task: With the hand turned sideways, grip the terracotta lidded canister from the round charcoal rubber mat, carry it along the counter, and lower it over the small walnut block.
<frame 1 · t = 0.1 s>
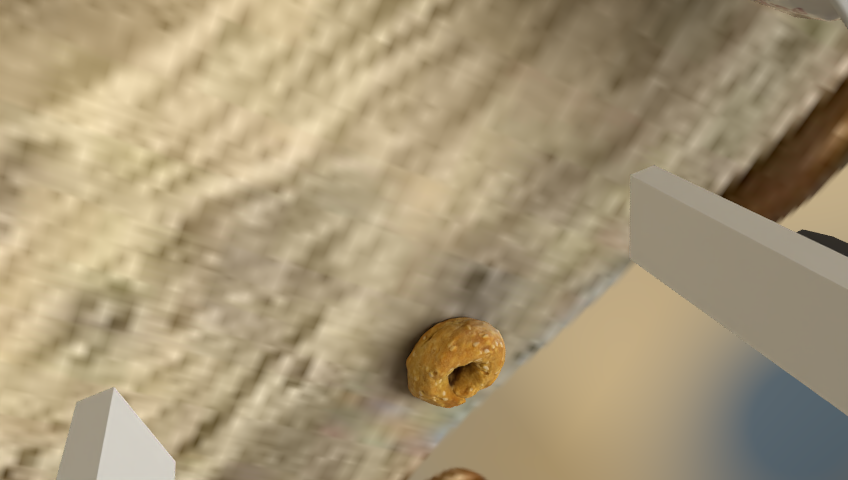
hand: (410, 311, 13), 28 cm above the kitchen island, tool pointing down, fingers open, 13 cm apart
bagel: (447, 350, 54), on the kitchen island
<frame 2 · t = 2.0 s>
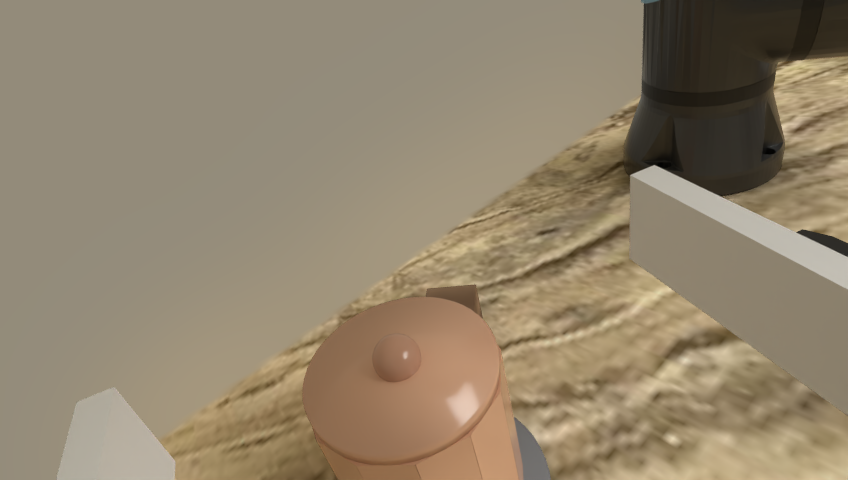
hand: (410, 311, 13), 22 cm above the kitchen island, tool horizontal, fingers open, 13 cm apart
walnut block: (458, 339, 43), on the kitchen island
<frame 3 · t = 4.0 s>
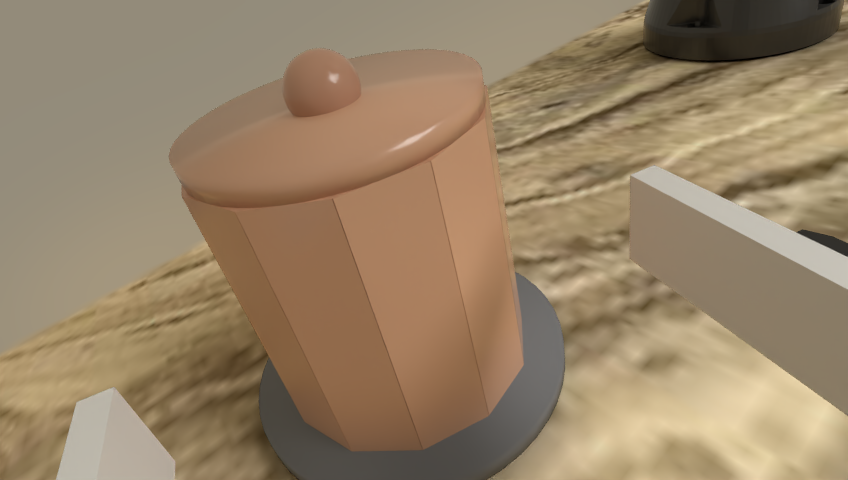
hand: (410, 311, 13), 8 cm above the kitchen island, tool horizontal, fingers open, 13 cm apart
lidded canister: (406, 347, 22), point 1 cm above the kitchen island, touching mat
mat: (411, 360, 23), on the kitchen island
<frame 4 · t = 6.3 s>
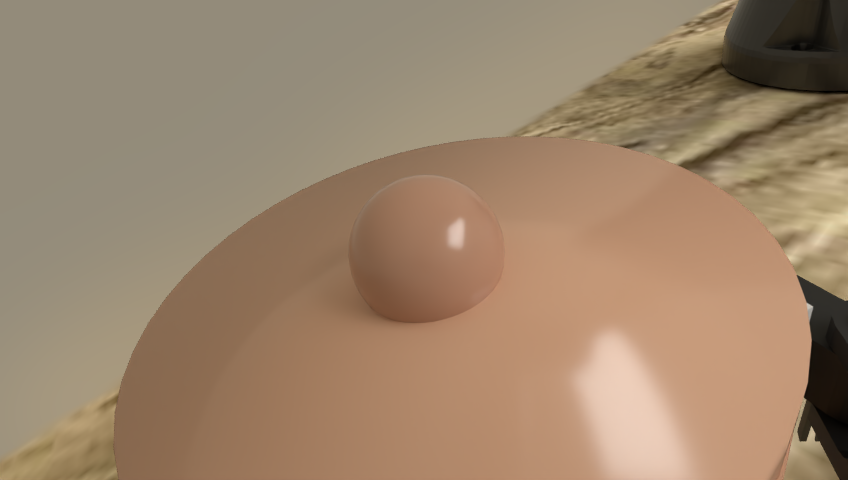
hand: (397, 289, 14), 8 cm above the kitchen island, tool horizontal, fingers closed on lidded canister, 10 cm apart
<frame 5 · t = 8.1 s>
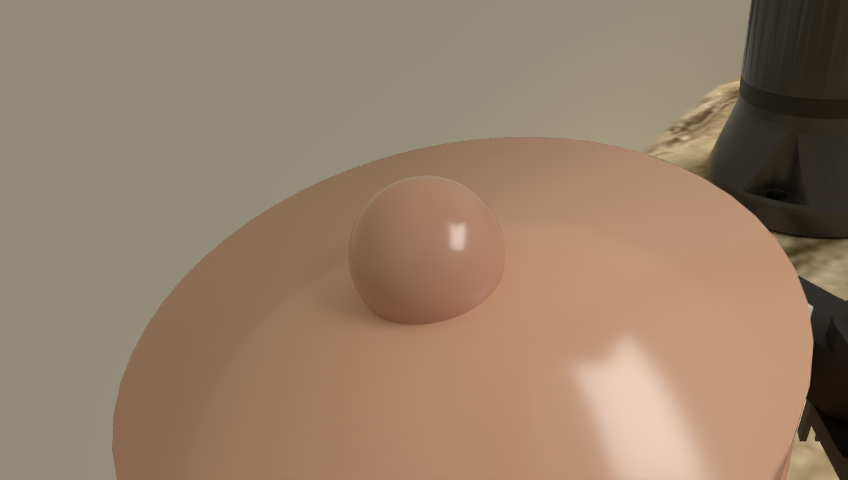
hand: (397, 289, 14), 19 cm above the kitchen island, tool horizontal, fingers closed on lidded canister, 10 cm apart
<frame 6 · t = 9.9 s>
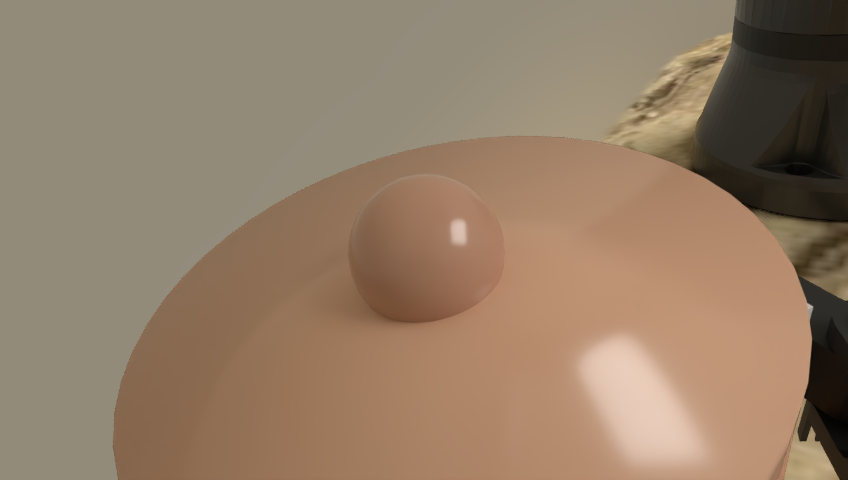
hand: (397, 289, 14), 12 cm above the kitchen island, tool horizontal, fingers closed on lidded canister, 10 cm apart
when the fingers open (9 cm above the kitchen island, at t = 10.9 s): lidded canister drops 2 cm, on the kitchen island.
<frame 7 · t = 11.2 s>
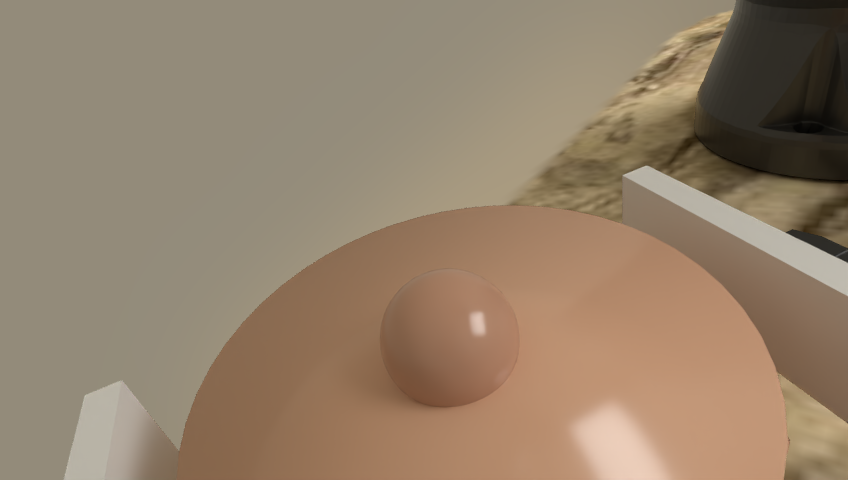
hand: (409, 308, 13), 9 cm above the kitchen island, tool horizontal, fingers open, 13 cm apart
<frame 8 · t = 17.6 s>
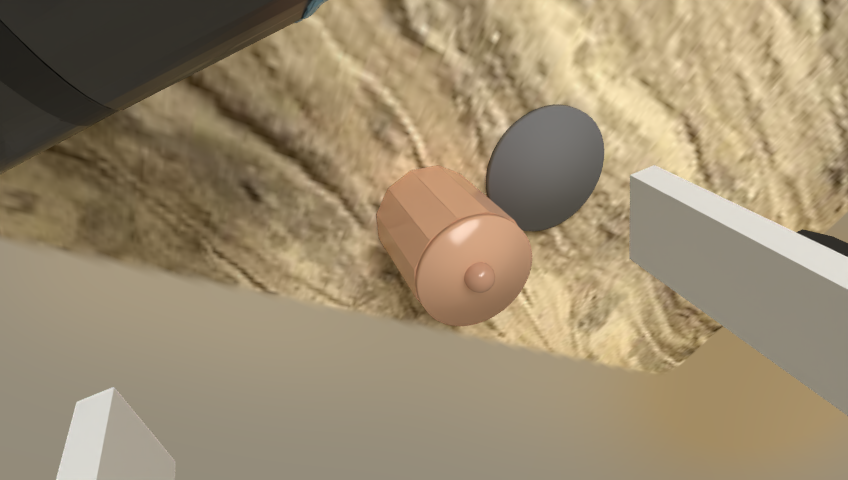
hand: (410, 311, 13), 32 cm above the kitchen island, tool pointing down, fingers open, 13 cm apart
lidded canister: (426, 215, 50), on the kitchen island
mat: (544, 169, 52), on the kitchen island
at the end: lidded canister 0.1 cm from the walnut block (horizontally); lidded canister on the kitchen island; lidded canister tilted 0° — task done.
